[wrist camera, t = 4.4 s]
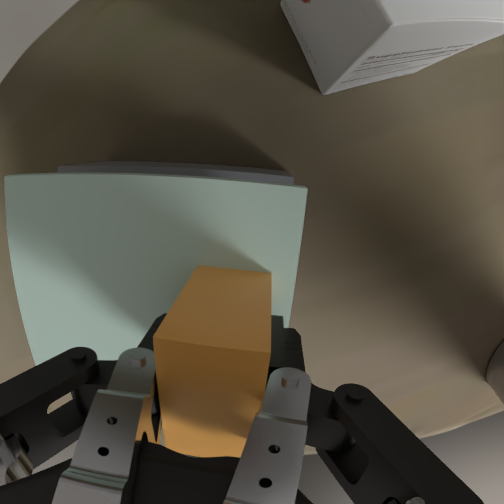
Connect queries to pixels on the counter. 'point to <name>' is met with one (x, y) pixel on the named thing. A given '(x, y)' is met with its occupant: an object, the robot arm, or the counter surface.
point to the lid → (161, 284)
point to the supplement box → (386, 35)
